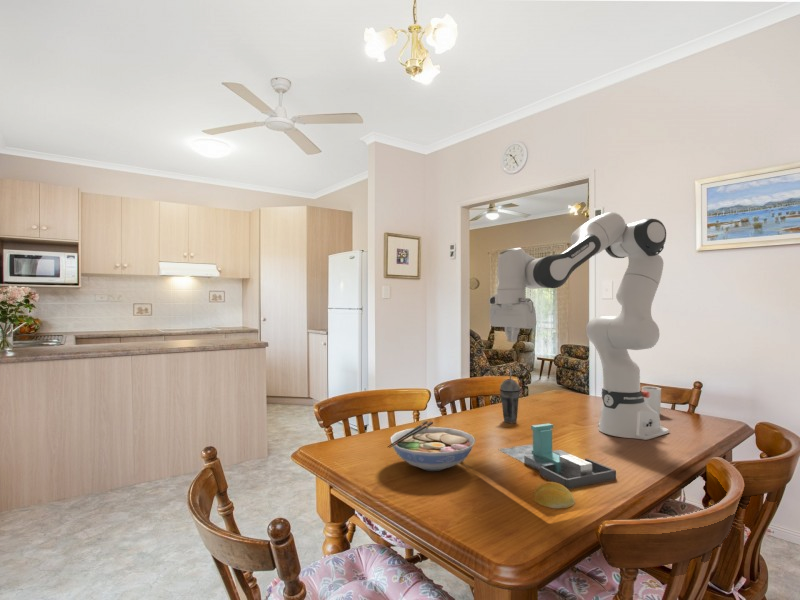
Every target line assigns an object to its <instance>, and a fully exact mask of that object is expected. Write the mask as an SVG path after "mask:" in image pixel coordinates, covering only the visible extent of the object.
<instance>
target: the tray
mask: <svg viewBox="0 0 800 600" xmlns="http://www.w3.org/2000/svg"><path fill="white" fill-rule="evenodd" d="M584 460H585V461H587V462H590V463H592V474H589V475H584V476H579V477H574V478H570V477H568V476H566V475H564V474H562V473H560V472H552V471H550V470H548V469H546V468H544V467H542V466H541V467H540V471H539V476H540V477H543V478H545V479H547V480H548V481H549V482H556V483H559V484H561V485H563V486H565V487H566V488H567V489H568V490H570V489H576V488H580V487H585V486H589V485H594V484H599V483H603V482H610V481H613V480H616V479H617V471H616V469H613V468H612V467H608V466H606V465H604V464H602V463H599V462H597V461H594V460H592V459H589V458H584Z"/></svg>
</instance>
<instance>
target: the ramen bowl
mask: <svg viewBox="0 0 800 600" xmlns="http://www.w3.org/2000/svg"><path fill="white" fill-rule="evenodd" d="M433 422H434V421H430V422H428V421H427V420H425V421H423V422H422V423H421V424H419V425H418V426H416V427H414V428H413V427H412V428H406V429H404V430H400V431H397V432H394V433H393V434H392V435H391V436H390V437H389V438H390V443H391V444H389V445H388V446H387V448H389V449H390V448H393V449H394V451H395V452H396V454H397V455H398V456H399V458H400V459H402V461H405V462H406V463H407V464H409V465H410V466H413V467H417V468H420V469H421V470H423V471H429V472H438V471H443V470H445V469H448V468H451V467H454V466H456V465H458V464H460V463H462V462H463V461H464V460H465V459H466V458H468V456H469V454H470V453H471V451H472V449H473V446H474V445H475V443H476V438H475V437H474V436H473V434H470V433H468V432H466V431H463V430H460V429H454V428H449V427H440V426H439V427H438V426H432V425H433V424H434V423H433Z"/></svg>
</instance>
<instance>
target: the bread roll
mask: <svg viewBox="0 0 800 600" xmlns="http://www.w3.org/2000/svg"><path fill="white" fill-rule="evenodd" d="M533 495H534V502H536V503H537V504H539V505H541V506H543V507H547V508H552V509H566V508H567V509H568V508H570V507H573V506H574V505H575V503H576V501H575V498H574V496H573V494H572V492H571V491H570V489H567V488H566V487H565V486H563V485H561V484H559V483H556V482H552V481H545V482H541V483H540V484H539V485H538V486H536V487H535V489H534V491H533Z"/></svg>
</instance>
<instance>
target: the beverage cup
mask: <svg viewBox="0 0 800 600" xmlns="http://www.w3.org/2000/svg"><path fill="white" fill-rule="evenodd" d="M520 391H521V389H520V384H519V383H518V382H517V381H516V380H514V379H513V378H512V366H509V378H507V379H504V380H503V381H502V382H501V384H500V389H499V392H500V396H501V407H502V416H503V422H504V423H507V424H515V423H517V421H518V420H517V419H518V410H519V398H520V394H521V392H520Z"/></svg>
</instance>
